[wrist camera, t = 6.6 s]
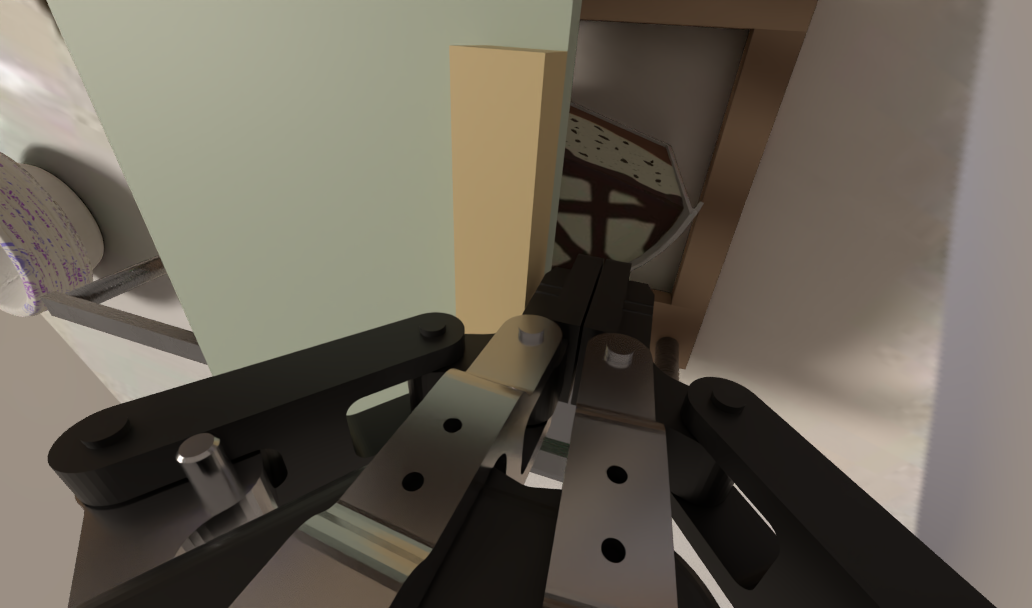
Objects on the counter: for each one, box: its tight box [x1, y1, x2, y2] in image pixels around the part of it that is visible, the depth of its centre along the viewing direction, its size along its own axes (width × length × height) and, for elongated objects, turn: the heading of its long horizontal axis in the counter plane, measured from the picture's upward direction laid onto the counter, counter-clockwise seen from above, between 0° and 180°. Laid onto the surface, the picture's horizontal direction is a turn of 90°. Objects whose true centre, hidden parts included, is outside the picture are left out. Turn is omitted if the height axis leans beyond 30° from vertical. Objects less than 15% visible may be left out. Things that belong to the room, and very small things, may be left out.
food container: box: [551, 102, 704, 271], centre depth 21 cm, size 12×6×10 cm, turn 71°
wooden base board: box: [580, 0, 818, 369], centre depth 27 cm, size 23×40×2 cm, turn 87°
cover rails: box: [40, 255, 679, 478], centre depth 21 cm, size 21×39×11 cm, turn 87°
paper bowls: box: [0, 152, 104, 317], centre depth 40 cm, size 15×15×8 cm
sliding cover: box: [47, 0, 582, 415], centre depth 14 cm, size 22×17×3 cm
